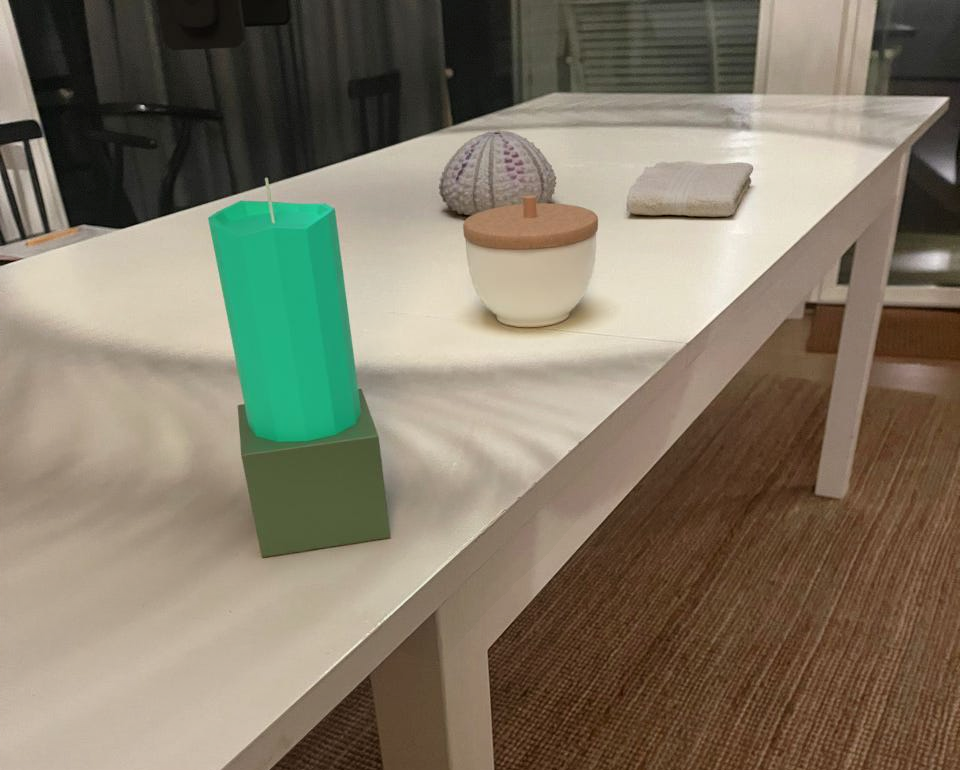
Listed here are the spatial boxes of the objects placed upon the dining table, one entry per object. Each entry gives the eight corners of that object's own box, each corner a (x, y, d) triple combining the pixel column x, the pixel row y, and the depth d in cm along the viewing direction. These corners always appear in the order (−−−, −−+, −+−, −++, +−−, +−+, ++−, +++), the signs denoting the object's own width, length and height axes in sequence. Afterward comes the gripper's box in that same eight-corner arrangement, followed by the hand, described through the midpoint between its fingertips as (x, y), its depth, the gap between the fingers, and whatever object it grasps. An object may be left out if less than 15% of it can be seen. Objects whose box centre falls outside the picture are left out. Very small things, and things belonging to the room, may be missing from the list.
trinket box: (443, 326, 86) (434, 206, 80) (512, 290, 93) (508, 178, 88) (555, 344, 81) (554, 217, 75) (619, 305, 88) (622, 187, 82)
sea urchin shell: (560, 218, 114) (560, 138, 110) (438, 225, 114) (432, 146, 110) (553, 192, 125) (552, 119, 120) (441, 199, 125) (436, 126, 121)
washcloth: (753, 184, 123) (755, 155, 121) (736, 221, 109) (739, 189, 107) (653, 183, 126) (654, 156, 124) (624, 219, 112) (625, 188, 110)
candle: (228, 420, 56) (179, 182, 49) (322, 389, 59) (287, 160, 52) (286, 452, 52) (241, 198, 45) (383, 417, 55) (355, 174, 48)
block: (261, 558, 55) (241, 455, 52) (256, 500, 61) (237, 404, 58) (390, 538, 56) (378, 435, 53) (373, 483, 62) (361, 387, 59)
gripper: (122, -457, 43) (203, 22, 53) (-80, -636, 29) (82, 63, 39) (301, -470, 43) (349, 16, 52) (185, -659, 28) (280, 54, 38)
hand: (235, 35), depth 45 cm, fingers open, 9 cm apart
